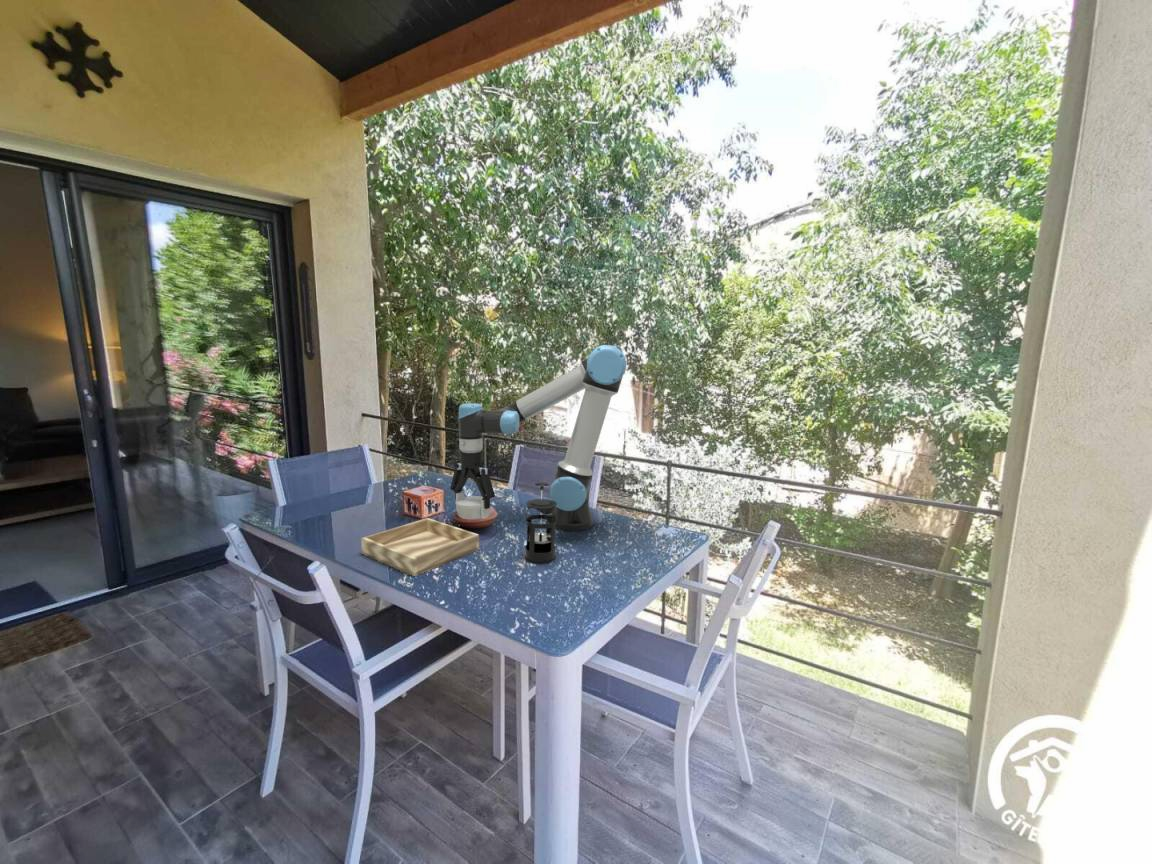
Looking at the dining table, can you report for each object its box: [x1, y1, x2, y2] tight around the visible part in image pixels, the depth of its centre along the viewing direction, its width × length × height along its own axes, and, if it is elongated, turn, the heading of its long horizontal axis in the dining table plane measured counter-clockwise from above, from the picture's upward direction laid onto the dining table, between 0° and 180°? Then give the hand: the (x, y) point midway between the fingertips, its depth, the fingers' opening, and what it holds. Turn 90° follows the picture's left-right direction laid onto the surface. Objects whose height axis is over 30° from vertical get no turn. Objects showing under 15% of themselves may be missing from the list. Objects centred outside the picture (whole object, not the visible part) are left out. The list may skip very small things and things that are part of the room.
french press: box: [523, 481, 557, 565], centre depth 151 cm, size 12×9×23 cm
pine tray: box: [360, 517, 480, 577], centre depth 153 cm, size 24×24×5 cm
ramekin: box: [454, 495, 483, 520], centre depth 171 cm, size 11×11×5 cm
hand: (472, 514), depth 171 cm, fingers closed on ramekin, 11 cm apart
